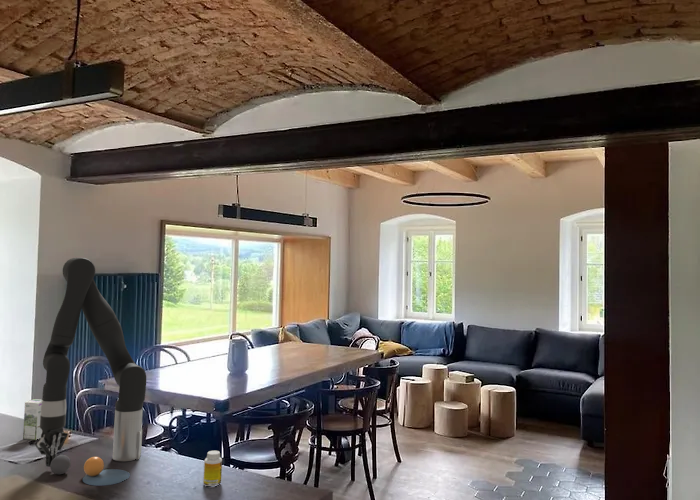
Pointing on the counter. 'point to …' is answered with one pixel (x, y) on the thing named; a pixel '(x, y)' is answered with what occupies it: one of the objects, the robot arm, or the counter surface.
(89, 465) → the object ball
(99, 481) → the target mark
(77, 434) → the counter surface
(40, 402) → the syrup box
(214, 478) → the supplement bottle
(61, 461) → the cue ball
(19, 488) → the counter surface
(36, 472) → the counter surface
